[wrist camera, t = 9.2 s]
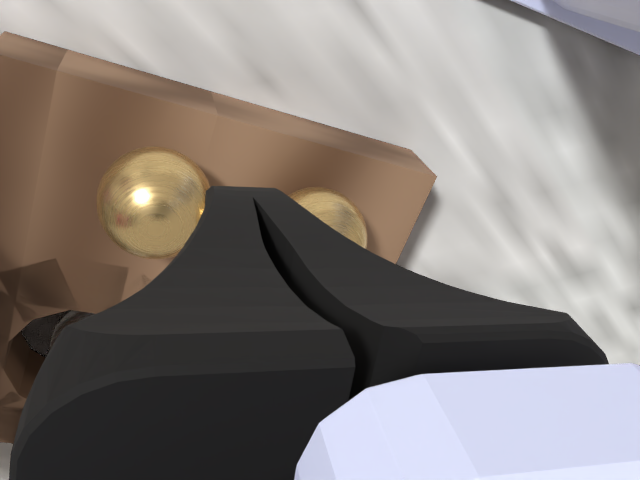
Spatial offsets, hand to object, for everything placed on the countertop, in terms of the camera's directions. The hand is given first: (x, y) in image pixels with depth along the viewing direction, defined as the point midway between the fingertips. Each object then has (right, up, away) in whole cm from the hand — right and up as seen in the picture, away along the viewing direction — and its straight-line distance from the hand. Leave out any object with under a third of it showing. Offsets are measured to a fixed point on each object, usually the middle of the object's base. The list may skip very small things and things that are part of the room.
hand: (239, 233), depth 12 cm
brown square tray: (-4, -1, +11) cm, 12 cm away
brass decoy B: (-3, +1, +6) cm, 6 cm away
